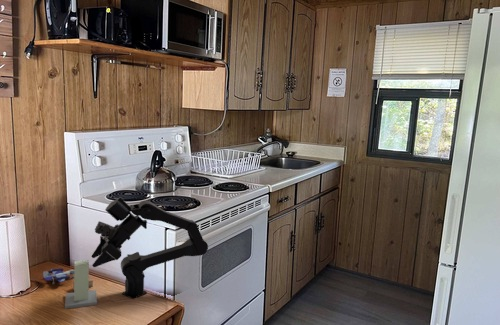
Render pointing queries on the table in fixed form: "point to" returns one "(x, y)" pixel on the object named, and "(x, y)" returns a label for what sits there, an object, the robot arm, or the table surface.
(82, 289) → the sage green pillar
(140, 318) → the table surface
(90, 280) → the brown block
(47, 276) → the toy airplane
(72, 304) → the slate tile
